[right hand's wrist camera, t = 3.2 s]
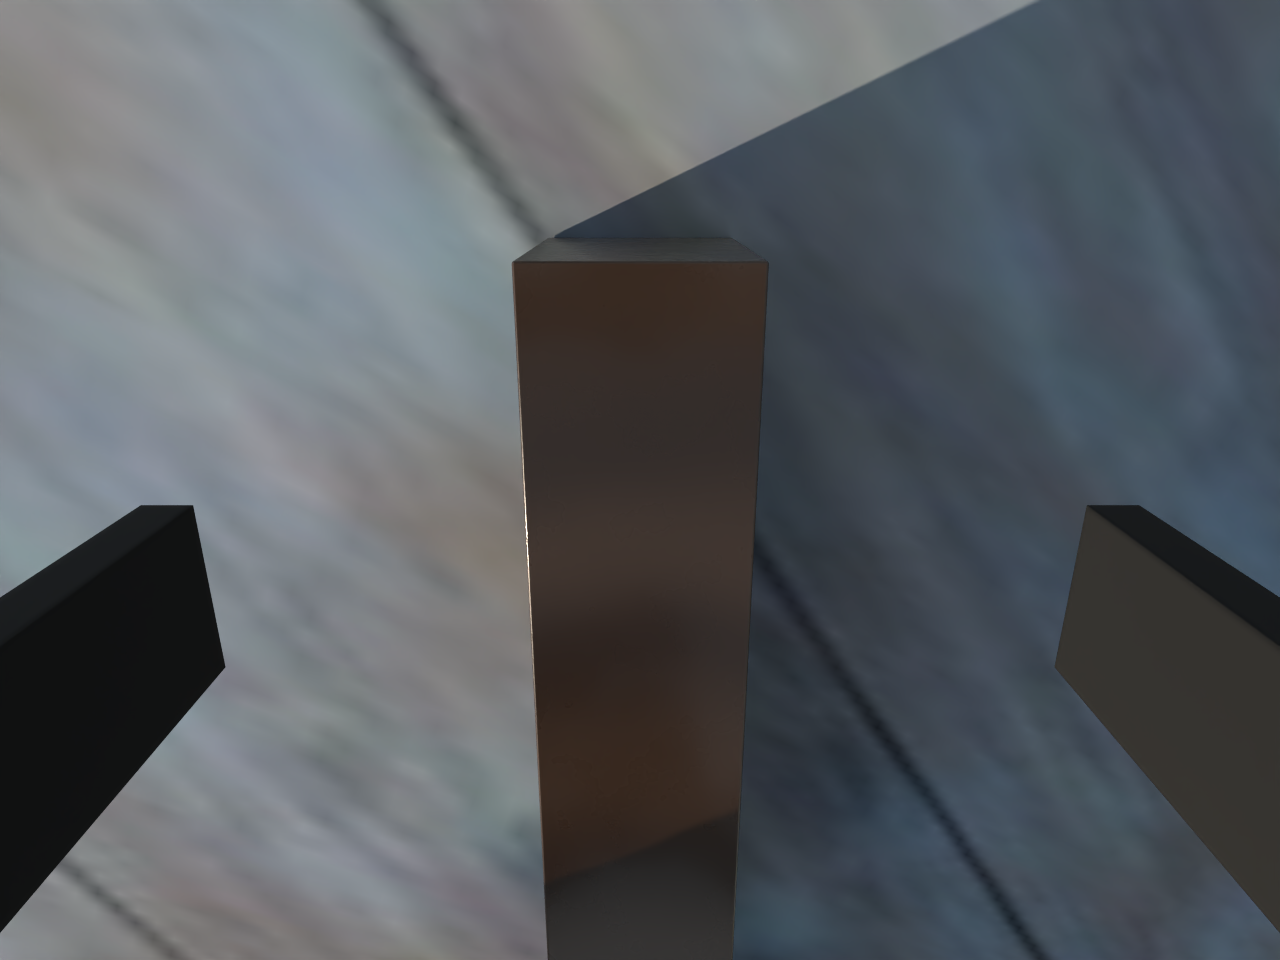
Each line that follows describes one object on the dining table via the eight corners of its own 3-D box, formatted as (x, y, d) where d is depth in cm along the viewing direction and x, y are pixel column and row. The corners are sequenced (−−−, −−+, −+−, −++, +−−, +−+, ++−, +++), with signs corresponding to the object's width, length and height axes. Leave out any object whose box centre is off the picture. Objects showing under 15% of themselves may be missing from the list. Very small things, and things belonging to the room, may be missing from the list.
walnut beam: (547, 238, 27) (511, 261, 19) (733, 237, 27) (768, 261, 19) (576, 1028, 39) (561, 1231, 32) (703, 1029, 39) (718, 1231, 32)
